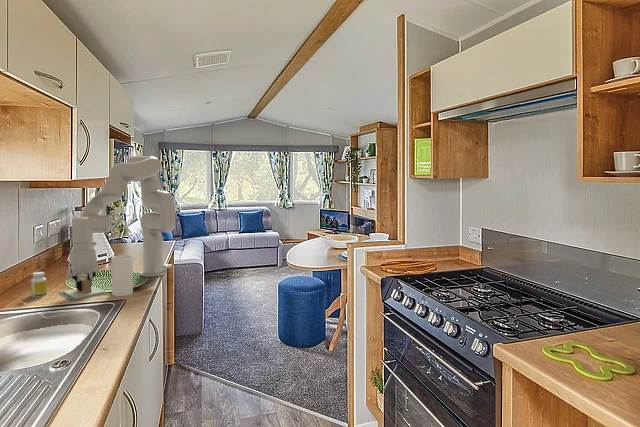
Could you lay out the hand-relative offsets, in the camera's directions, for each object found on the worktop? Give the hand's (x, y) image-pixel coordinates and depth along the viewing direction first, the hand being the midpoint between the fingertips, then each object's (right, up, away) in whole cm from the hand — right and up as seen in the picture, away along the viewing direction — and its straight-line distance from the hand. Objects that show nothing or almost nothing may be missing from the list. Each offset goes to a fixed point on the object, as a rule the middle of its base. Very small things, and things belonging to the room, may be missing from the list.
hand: (84, 288), depth 187 cm
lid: (0, -2, 0) cm, 2 cm away
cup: (+15, -3, +2) cm, 16 cm away
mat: (0, -2, 0) cm, 2 cm away
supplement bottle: (-16, -2, -5) cm, 17 cm away
